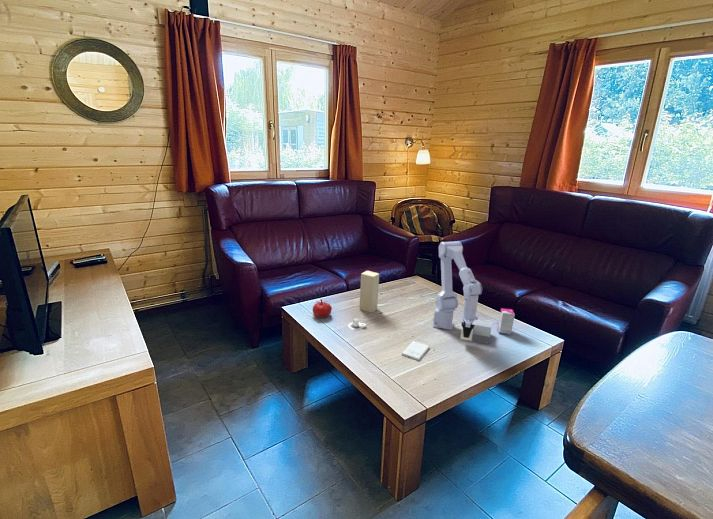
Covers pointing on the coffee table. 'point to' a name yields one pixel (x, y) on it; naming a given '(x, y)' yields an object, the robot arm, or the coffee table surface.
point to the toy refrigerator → (369, 291)
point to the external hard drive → (415, 350)
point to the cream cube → (465, 337)
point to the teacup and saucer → (356, 323)
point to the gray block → (481, 334)
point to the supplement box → (506, 321)
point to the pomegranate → (321, 309)
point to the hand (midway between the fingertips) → (466, 334)
